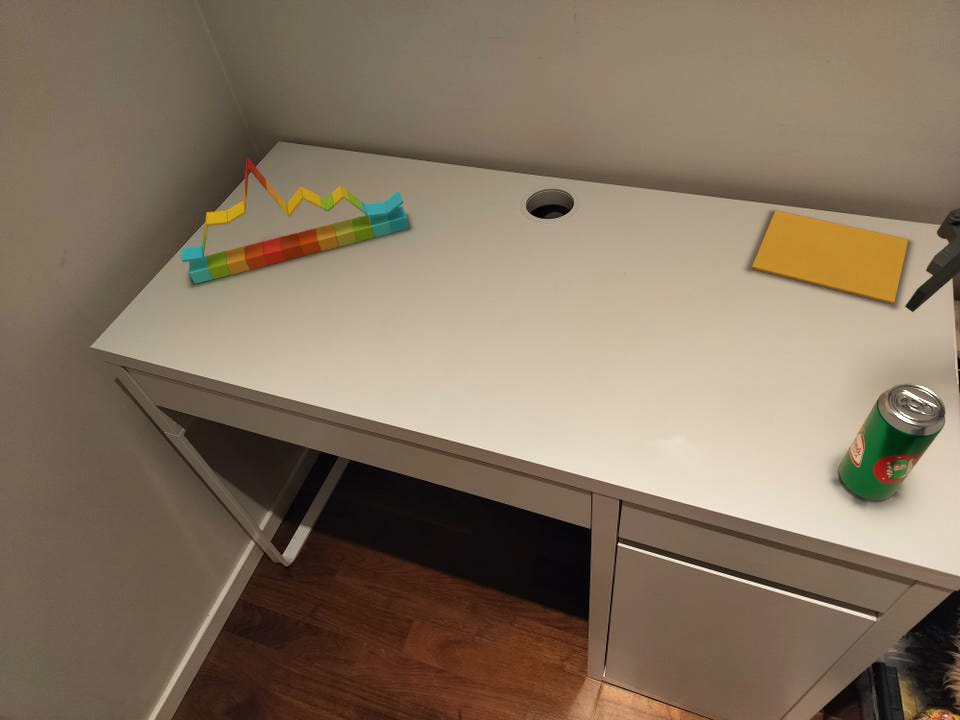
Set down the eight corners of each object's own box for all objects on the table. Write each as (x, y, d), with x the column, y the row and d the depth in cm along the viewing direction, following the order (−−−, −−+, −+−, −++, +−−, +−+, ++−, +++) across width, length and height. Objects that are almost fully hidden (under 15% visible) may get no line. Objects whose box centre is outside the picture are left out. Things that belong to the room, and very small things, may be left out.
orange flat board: (907, 241, 84) (908, 239, 84) (893, 304, 78) (894, 302, 77) (774, 212, 90) (775, 210, 90) (751, 268, 84) (752, 266, 83)
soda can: (846, 448, 66) (891, 370, 57) (902, 471, 64) (957, 395, 55) (829, 486, 64) (873, 412, 55) (887, 512, 62) (942, 439, 52)
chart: (404, 215, 98) (383, 121, 86) (409, 228, 96) (388, 133, 84) (195, 269, 94) (144, 178, 83) (195, 284, 92) (143, 192, 81)
